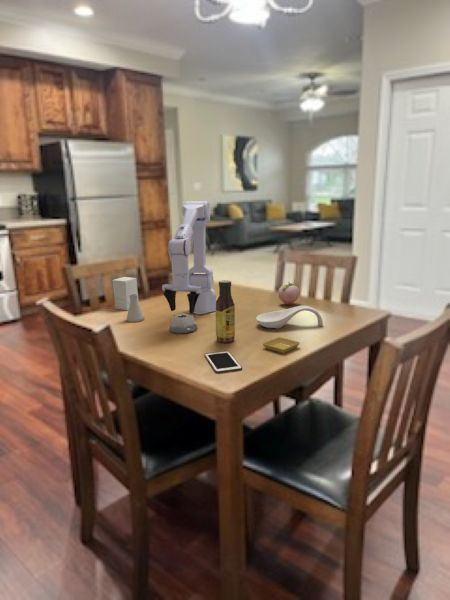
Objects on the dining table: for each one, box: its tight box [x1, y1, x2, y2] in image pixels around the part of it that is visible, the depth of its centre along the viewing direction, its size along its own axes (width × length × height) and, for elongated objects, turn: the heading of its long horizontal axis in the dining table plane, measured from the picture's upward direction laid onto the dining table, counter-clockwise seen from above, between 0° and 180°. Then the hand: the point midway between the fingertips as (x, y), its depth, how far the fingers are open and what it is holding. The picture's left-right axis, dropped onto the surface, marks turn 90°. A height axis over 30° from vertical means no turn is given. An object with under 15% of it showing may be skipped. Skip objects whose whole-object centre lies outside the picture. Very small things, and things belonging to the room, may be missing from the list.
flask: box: [125, 293, 145, 323], centre depth 175 cm, size 7×7×10 cm
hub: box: [168, 317, 198, 335], centre depth 162 cm, size 10×10×4 cm
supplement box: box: [112, 276, 140, 311], centre depth 193 cm, size 7×7×13 cm
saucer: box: [262, 337, 301, 354], centre depth 142 cm, size 9×9×2 cm
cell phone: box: [204, 350, 243, 374], centre depth 132 cm, size 8×15×1 cm, turn 16°
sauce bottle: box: [215, 279, 236, 344], centre depth 148 cm, size 6×6×20 cm
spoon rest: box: [255, 305, 324, 329], centre depth 163 cm, size 24×12×7 cm, turn 91°
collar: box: [170, 313, 195, 330], centre depth 162 cm, size 6×6×4 cm
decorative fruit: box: [277, 282, 300, 306], centre depth 190 cm, size 9×8×10 cm
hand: (182, 311), depth 161 cm, fingers open, 7 cm apart
